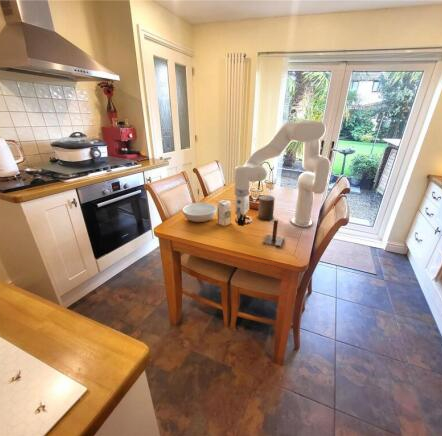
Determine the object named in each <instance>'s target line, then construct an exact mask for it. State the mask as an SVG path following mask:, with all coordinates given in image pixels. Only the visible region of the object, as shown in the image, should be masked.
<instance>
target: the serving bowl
mask: <svg viewBox="0 0 442 436" xmlns="http://www.w3.org/2000/svg"><path fill="white" fill-rule="evenodd" d="M217 213H218V206H216V204H213V203H211V202H201V201H200V202H192V203H189V204H186V205H185V206H184V207H182V214H183V216H184V217H185V219H187V220H189V221H191V222H196V223H201V222H207V221H210V220H212V219H213V218H214V217H216V214H217Z"/></svg>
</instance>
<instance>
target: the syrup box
mask: <svg viewBox="0 0 442 436" xmlns="http://www.w3.org/2000/svg"><path fill="white" fill-rule="evenodd" d="M231 223H232V201H229V200H227V199H223V200H220V201H218V202H217V224H219V225H221V226H223V227H226V226H228V225H231Z"/></svg>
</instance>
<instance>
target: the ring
mask: <svg viewBox="0 0 442 436" xmlns="http://www.w3.org/2000/svg"><path fill="white" fill-rule="evenodd" d="M244 217H245V220H247V221H245V222H244V226H248V225H251V224H252V223H253V219H252V217H250V216H248V215H246V216H244ZM234 222H235V223H236V224H237V225H238V218H237V216H236V217H235V219H234Z"/></svg>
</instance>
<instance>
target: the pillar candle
mask: <svg viewBox="0 0 442 436" xmlns="http://www.w3.org/2000/svg"><path fill="white" fill-rule="evenodd" d="M257 210H258V212H257V218H258V219H260V220H262V221H265V222H266V221H267V222H268V221H271V220H274V219H273V218H274V211H275V197H274V196H273V195H268V194H263V195H260V196H259V199H258V209H257Z"/></svg>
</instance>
